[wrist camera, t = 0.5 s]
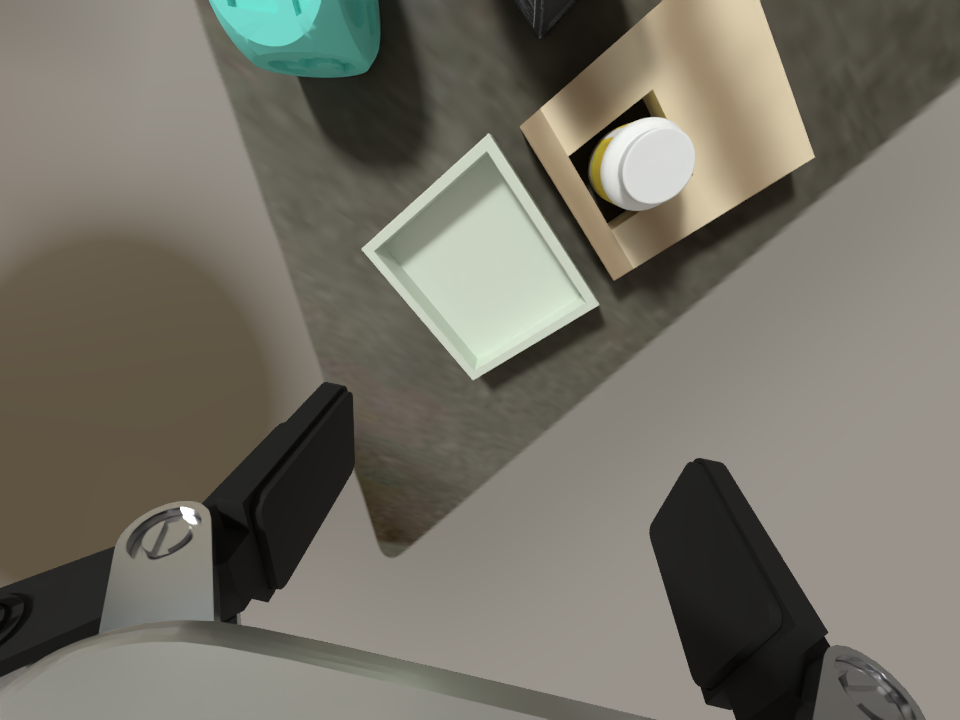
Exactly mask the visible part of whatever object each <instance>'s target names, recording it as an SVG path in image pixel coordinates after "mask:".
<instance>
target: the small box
mask: <svg viewBox="0 0 960 720" xmlns="http://www.w3.org/2000/svg"><path fill="white" fill-rule="evenodd" d="M576 1H577V0H514V2H515V4H516V5H517V7H518V8H519V10H520V12H521V13H522V14H523V16H524V18H525V19H526V21H527V22H528V24H529V25H530V27H531V29H532V30H533V32H534V33H535V35H536V37H537V38H538V39H542V38H544V37H545V35H547V34H548V33H549V31H550V30H551V28H552V27H553V25H554V24H556V23H558V22H559V19H560V18H561V17H562V16H563V15H564V14H565V13H566V12H567V11H568V10H569V9H570V7H571V6H572V5H574V3H575V2H576Z"/></svg>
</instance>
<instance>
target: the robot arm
mask: <svg viewBox="0 0 960 720" xmlns="http://www.w3.org/2000/svg"><path fill="white" fill-rule="evenodd" d="M354 464H355V451H354V419H353V395H352V393H351V392H348V391H347V388H346V386H343V385H338V384H333V383H328V382H324V383H323V384H321V386H320V387H319V388H318V389H317V390H316V391H315V392H314V393H313V394H312V395H311V396H310V397H309V398H308V399H307V400H306V401H305V402H304V403H303V404H302V405H301V407H300V408H299V409H298V410H297V411H296V412H295V413H294V414H293V415H292V416H291V417H290V418H289V419H288V420H287V421H286V422H284V423H281V424H279V425H278V426H277V427H276V428H275V429H274V430H273V431H272V432H271V433H270V434H269V435H268V436H267V437H266V438H265V439H264V440H263V441H262V442H261V443H260V444H259V445H258V446H257V447H256V448H255V449H254V450H253V451H252V452H251V454H249V456H247V457H246V458H245V460H243V462H242V463H241V464H240V465H239V466H238V467H237V468H236V469H235V470H234V471H233V472H232V473H231V474H230V475H229V476H228V477H227V478H226V479H225V480H224V481H223V482H222V483H221V484H220V485H219V486H218V487H217V488H216V489H215V490H214V492H212V493H211V495H210V496H209V497H208V498H207V499H206V500H205V501H204V502H203V503H202V504H200V503H197V502H194V501H180V502H175V503H170V504H166V505H163V506H161V507H158V508H155V509H153V510H151V511H150V512H148V513H146V514H144V515H142V516H141V517H139V518H138V519H137V520H136V521H134V522H133V523H132V524H131V525H130V526H128V527H127V529H126V530H125V531H124V532H123V534H122V535H121V536H120V537H119V539H118V542H117V544H116V546H114V547H112V548H109V549H106V550H103V551H101V552H98V553H95V554H92V555H90V556H87V557H84V558H81V559H79V560H76V561H73V562H70V563H68V564H65V565H62V566H59V567H57V568H54V569H52V570H48V571H46V572H43V573H40V574H37V575H35V576H32V577H29V578H26V579H24V580H21V581H18V582H15V583H13V584H10V585H7V586H5V587H2V588H0V720H655V719H651V718H647V717H643V716H638V715H634V714H630V713H626V712H622V711H618V710H613V709H609V708H605V707H601V706H597V705H593V704H589V703H585V702H580V701H576V700H572V699H568V698H563V697H559V696H555V695H551V694H547V693H542V692H538V691H534V690H530V689H525V688H521V687H517V686H513V685H508V684H504V683H500V682H496V681H492V680H487V679H483V678H479V677H475V676H470V675H466V674H462V673H457V672H453V671H448V670H445V669H440V668H436V667H432V666H427V665H423V664H418V663H414V662H410V661H405V660H401V659H397V658H392V657H388V656H384V655H379V654H375V653H371V652H366V651H362V650H358V649H354V648H349V647H345V646H341V645H336V644H332V643H328V642H323V641H318V640H313V639H308V638H304V637H298V636H294V635H289V634H285V633H280V632H275V631H270V630H265V629H261V628H256V627H249V626H243V625H241V617H240V616H241V615H240V612H242V611H244V610H245V608H246V607H247V605H248V604H249V602H250V601H251V599H256V600H260V601H264V602H269V600H270V599H271V597H272V595H273V594H274V592H275V590H276V589H282V588H284V586H285V585H286V584H287V582H288V581H289V579H290V577H291V576H292V574H293V572H294V571H295V569H296V567H297V565H298V564H299V562H300V560H301V559H302V557H303V555H304V554H305V552H306V550H307V548H308V547H309V545H310V543H311V541H312V540H313V538H314V536H315V535H316V533H317V531H318V530H319V528H320V526H321V524H322V523H323V521H324V519H325V518H326V516H327V514H328V513H329V511H330V509H331V508H332V506H333V504H334V502H335V501H336V499H337V497H338V496H339V494H340V492H341V490H342V489H343V487H344V485H345V484H346V482H347V480H348V479H349V477H350V475H351V473H352V471H353V468H354ZM649 533H650V539H651V543H652V546H653V549H654V553H655V556H656V559H657V562H658V566H659V569H660V573H661V576H662V579H663V582H664V586H665V589H666V592H667V596H668V599H669V603H670V605H671V609H672V612H673V615H674V619H675V622H676V625H677V629H678V632H679V636H680V639H681V642H682V646H683V649H684V652H685V656H686V659H687V662H688V666H689V669H690V672H691V675H692V678H693V680H694V682H695V683H696V684H697V685H698V686H700V687H701V690H702V693H703V696H704V700H705V703H706V704H707V705H711V706H716V707H720V708H724V709H728V710H731V709H732V710H733V712H734V715H735V718H736V720H926V719H925V717H924V715H923V713H922V712H921V710H920V708H919V706H918V705H917V703H916V702H915V701H914V699H913V698H912V697H911V695H910V694H909V693H908V692H907V690H906V689H905V688H904V687H903V686H902V685H901V684H900V683H899V682H898V681H897V680H896V679H895V678H894V677H893V676H892V675H891V674H890V673H889V672H888V671H886V670H885V669H884V668H883V667H882V666H881V665H879V664H878V663H877V662H876V661H874V660H872V659H871V658H869V657H867V656H866V655H864V654H862V653H861V652H859V651H857V650H854V649H852V648H849V647H847V646H839V645H835V646H832V647H830V645H829V643H828V642H827V640H826V639H825V637H824V636H825V635H826V634H827V633H828V631H827V629H826V628H825V626H824V625H823V623H822V621H821V620H820V618H819V617H818V615H817V613H816V612H815V610H814V608H813V607H812V605H811V604H810V602H809V600H808V599H807V597H806V595H805V594H804V592H803V591H802V589H801V587H800V586H799V584H798V582H797V581H796V579H795V578H794V576H793V574H792V573H791V571H790V569H789V568H788V566H787V565H786V563H785V562H784V560H783V558H782V557H781V555H780V553H779V552H778V550H777V548H776V547H775V546H774V544H773V542H772V541H771V539H770V537H769V536H768V534H767V532H766V531H765V529H764V527H763V526H762V524H761V523H760V521H759V519H758V518H757V516H756V514H755V513H754V511H753V510H752V508H751V507H750V505H749V503H748V501H747V500H746V498H745V497H744V495H743V493H742V492H741V490H740V489H739V487H738V485H737V484H736V482H735V481H734V479H733V477H732V476H731V474H730V472H729V471H728V469H727V468H726V466H725V465H724V464H723V463H721V462H716V461H712V460H707V459H702V458H697V459H695V460H694V461H693V462H689V463H688V464H687V465H686V466H685V468H684V469H683V471H682V473H681V475H680V476H679V478H678V480H677V481H676V483H675V485H674V486H673V488H672V490H671V491H670V493H669V495H668V496H667V498H666V500H665V502H664V503H663V505H662V507H661V508H660V510H659V512H658V513H657V515H656V517H655V518H654V520H653V522H652V523H651V526H650V532H649Z"/></svg>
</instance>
